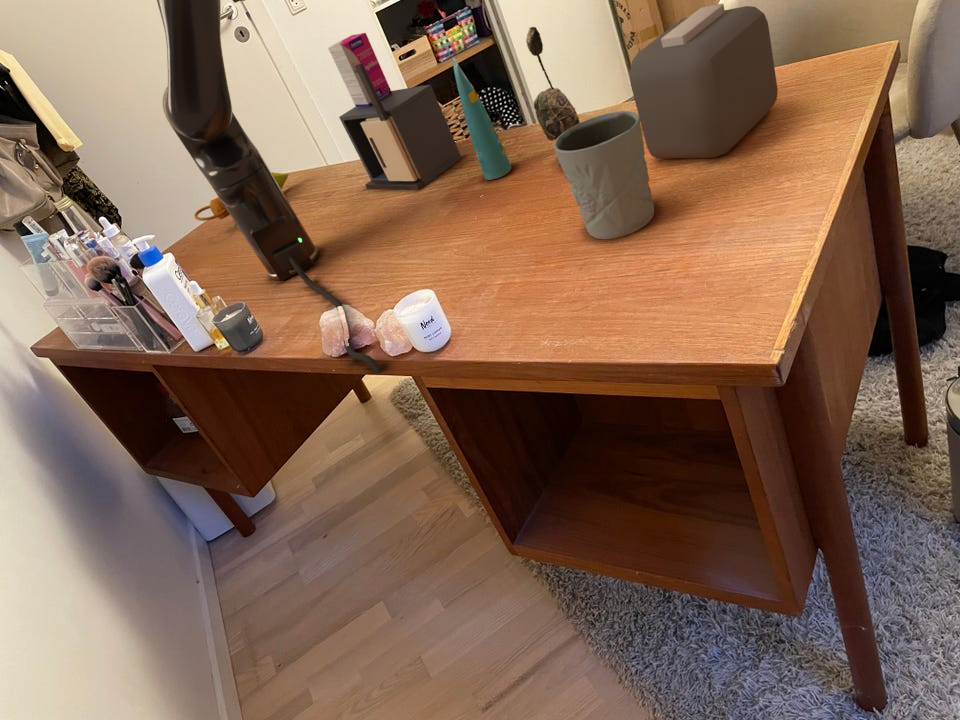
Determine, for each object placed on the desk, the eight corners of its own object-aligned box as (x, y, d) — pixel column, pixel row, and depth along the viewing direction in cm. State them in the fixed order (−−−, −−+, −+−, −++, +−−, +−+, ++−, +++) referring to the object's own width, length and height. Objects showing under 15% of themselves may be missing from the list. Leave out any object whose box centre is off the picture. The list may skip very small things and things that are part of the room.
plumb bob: (283, 188, 167) (194, 233, 153) (271, 152, 161) (178, 196, 148) (305, 195, 162) (216, 242, 148) (294, 158, 156) (200, 204, 142)
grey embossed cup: (567, 240, 87) (536, 153, 80) (610, 198, 92) (584, 113, 85) (635, 244, 80) (606, 148, 73) (678, 198, 84) (655, 105, 78)
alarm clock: (713, 110, 101) (691, 1, 93) (788, 105, 93) (771, -16, 85) (652, 166, 94) (622, 53, 86) (727, 165, 86) (702, 41, 78)
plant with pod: (539, 179, 106) (493, 51, 96) (571, 145, 113) (531, 21, 102) (585, 174, 101) (541, 37, 91) (615, 138, 108) (578, 6, 97)
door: (413, 181, 125) (358, 65, 113) (388, 181, 131) (333, 71, 120) (417, 179, 125) (362, 62, 114) (391, 179, 132) (337, 68, 120)
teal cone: (516, 173, 112) (472, 56, 102) (490, 185, 113) (443, 71, 102) (506, 161, 119) (463, 51, 108) (480, 173, 119) (435, 64, 109)
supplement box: (369, 107, 127) (340, 45, 121) (355, 107, 132) (326, 48, 125) (393, 92, 129) (365, 31, 123) (379, 93, 134) (351, 34, 127)
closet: (418, 190, 125) (383, 115, 117) (366, 188, 138) (332, 121, 130) (461, 158, 130) (430, 84, 122) (407, 159, 143) (376, 93, 135)
